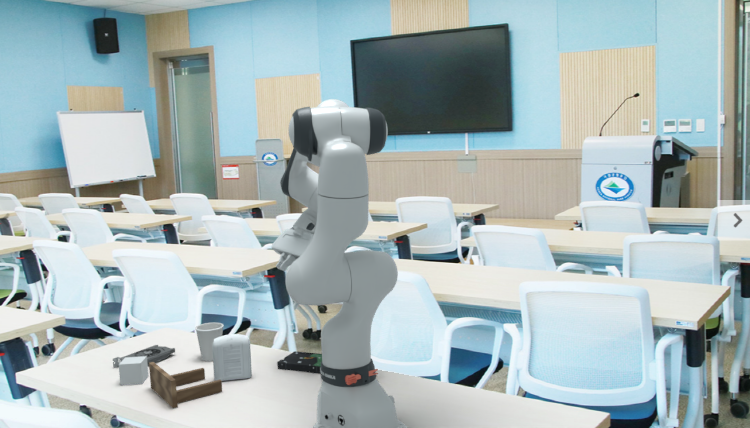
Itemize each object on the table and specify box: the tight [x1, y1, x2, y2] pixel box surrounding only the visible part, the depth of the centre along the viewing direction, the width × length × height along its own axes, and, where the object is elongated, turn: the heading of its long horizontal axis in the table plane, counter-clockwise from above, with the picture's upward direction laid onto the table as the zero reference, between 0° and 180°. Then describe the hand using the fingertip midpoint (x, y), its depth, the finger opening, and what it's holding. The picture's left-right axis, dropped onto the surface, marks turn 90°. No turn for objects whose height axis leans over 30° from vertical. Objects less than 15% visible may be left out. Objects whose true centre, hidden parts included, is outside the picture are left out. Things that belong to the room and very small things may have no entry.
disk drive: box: [276, 351, 322, 375], centre depth 192 cm, size 10×3×15 cm
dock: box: [148, 362, 223, 409], centre depth 175 cm, size 18×14×7 cm
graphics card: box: [112, 344, 176, 369], centre depth 201 cm, size 17×4×12 cm
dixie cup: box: [195, 322, 225, 362], centre depth 202 cm, size 8×8×10 cm
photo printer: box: [212, 333, 253, 382], centre depth 183 cm, size 10×4×12 cm, turn 103°
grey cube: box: [118, 356, 149, 386], centre depth 185 cm, size 6×6×6 cm
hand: (279, 268), depth 187 cm, fingers closed
